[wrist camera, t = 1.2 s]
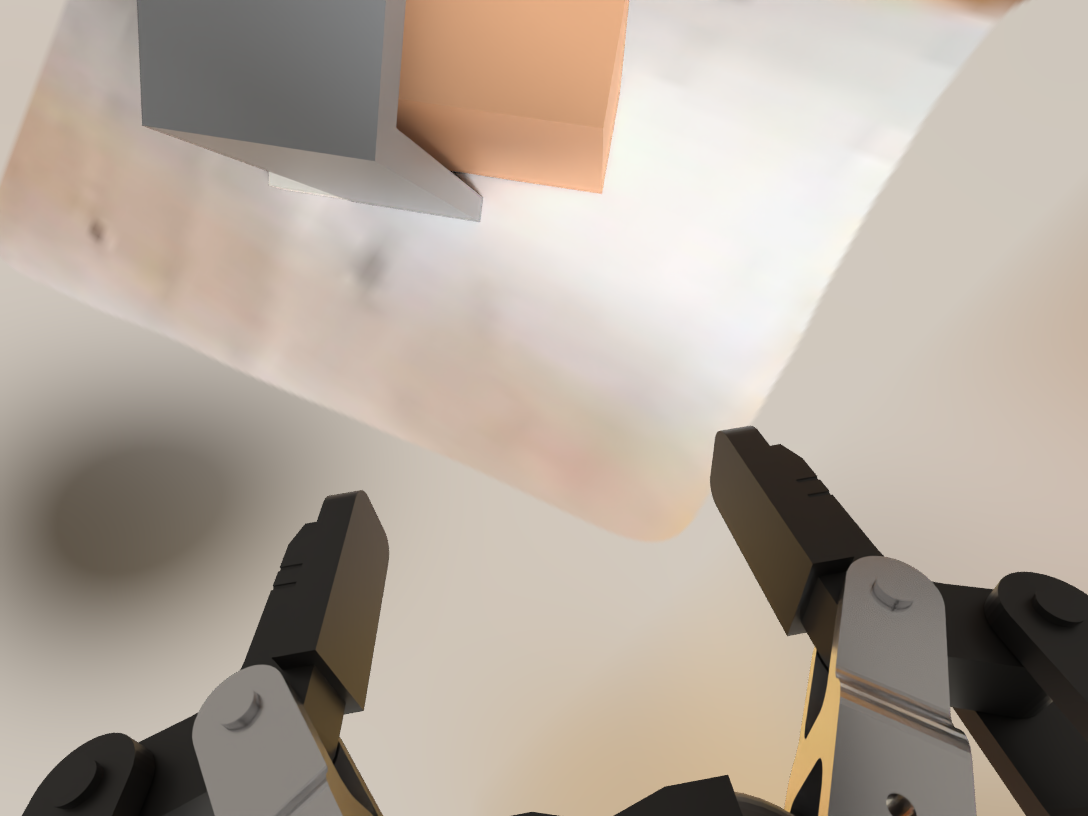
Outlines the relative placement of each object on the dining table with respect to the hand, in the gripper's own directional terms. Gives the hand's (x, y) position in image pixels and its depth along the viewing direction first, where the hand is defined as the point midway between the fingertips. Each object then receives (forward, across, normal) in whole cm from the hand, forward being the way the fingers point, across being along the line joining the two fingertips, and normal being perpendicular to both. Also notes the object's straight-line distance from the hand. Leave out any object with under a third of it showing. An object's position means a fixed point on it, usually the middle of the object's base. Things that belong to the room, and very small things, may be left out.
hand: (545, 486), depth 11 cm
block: (+19, -2, -5) cm, 20 cm away
